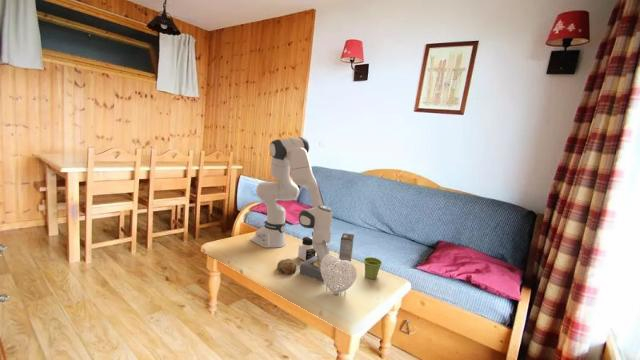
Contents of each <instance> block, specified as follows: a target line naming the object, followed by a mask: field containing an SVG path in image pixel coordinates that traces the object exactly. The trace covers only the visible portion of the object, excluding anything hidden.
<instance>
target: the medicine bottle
mask: <svg viewBox="0 0 640 360" xmlns="http://www.w3.org/2000/svg"><path fill="white" fill-rule="evenodd" d="M312 238H313V237H312V236H304V237H303V238H302V241H301V242H302V243H301V244H299V245H298V253H297V257H298V258H299V259H300V260H302V259H303V262H305V261H307V260H308V259H310V258H312V257H314V256H316V254H317V253H316V252H315V250H314V248H313V245H312Z"/></svg>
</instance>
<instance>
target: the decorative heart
mask: <svg viewBox="0 0 640 360" xmlns="http://www.w3.org/2000/svg"><path fill="white" fill-rule="evenodd" d="M328 258H329V259H328ZM325 261H326V262H325ZM330 261H332V262H330ZM327 262H328V263H327ZM325 263H326V265H325ZM330 263H331V264H330ZM338 263H339V264H338ZM345 263H346V264H345ZM329 264H330V265H329ZM332 264H334V265H332ZM327 265H328V267H327ZM335 265H336V266H335ZM343 265H344V266H343ZM329 266H330V267H329ZM331 266H332V267H331ZM334 267H335V268H334ZM325 268H326V269H325ZM332 269H333V270H332ZM320 270H321V275H322V278H323V280H324V282H323V283H324V284H325V291H328V290H329V292H331V293H332V294H333V295H338V294H339V296H340V297H341V296H342V293H343V292H344V293H343V297H344V298H346V295H347V293H346V292H347V291H348V289H350V288H351V287H352V286H353V285H354V283H355V281H356V278H357V268H356V266H355V264H354V263H353V262H352V261H351V262H350V261H347V260H340V259H339V256H336V255H334V254H329V255H326V256H325V257H324V258H323V259H322V261H321V265H320ZM326 270H327V271H326ZM327 272H328V273H327ZM324 273H325V275H324ZM333 274H334V275H333ZM326 278H327V279H326Z"/></svg>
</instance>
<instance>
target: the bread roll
mask: <svg viewBox="0 0 640 360" xmlns="http://www.w3.org/2000/svg"><path fill="white" fill-rule="evenodd" d="M276 268H277V272H278V273H279V274H282V275H290V276H291V275H293V274H295V273H296V271H297V264H296V262H295V261H294V260H293V259H291V258H284V259H280V260H279V262H278V263H277V266H276Z"/></svg>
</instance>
